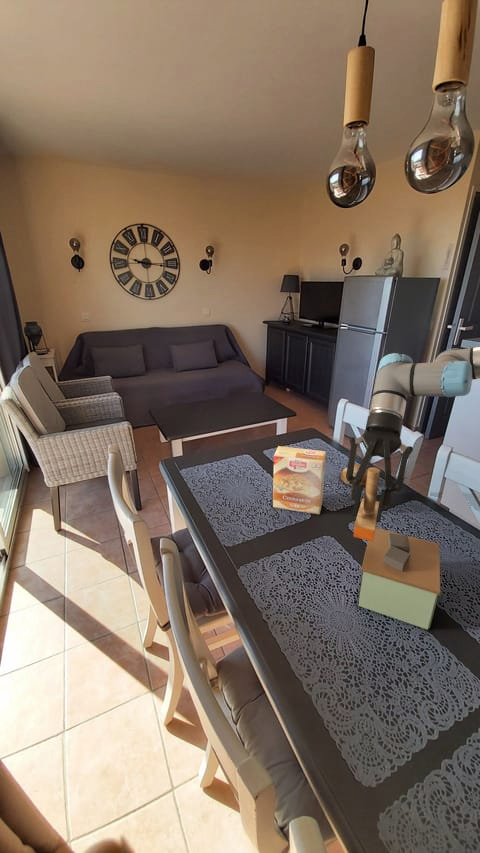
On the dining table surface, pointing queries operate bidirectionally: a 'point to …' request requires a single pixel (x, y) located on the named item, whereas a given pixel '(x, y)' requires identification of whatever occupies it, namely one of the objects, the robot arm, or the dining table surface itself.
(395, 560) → the dust pad
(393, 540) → the block
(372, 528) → the brush
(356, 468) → the bread roll
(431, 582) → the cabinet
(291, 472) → the coffeecake box
